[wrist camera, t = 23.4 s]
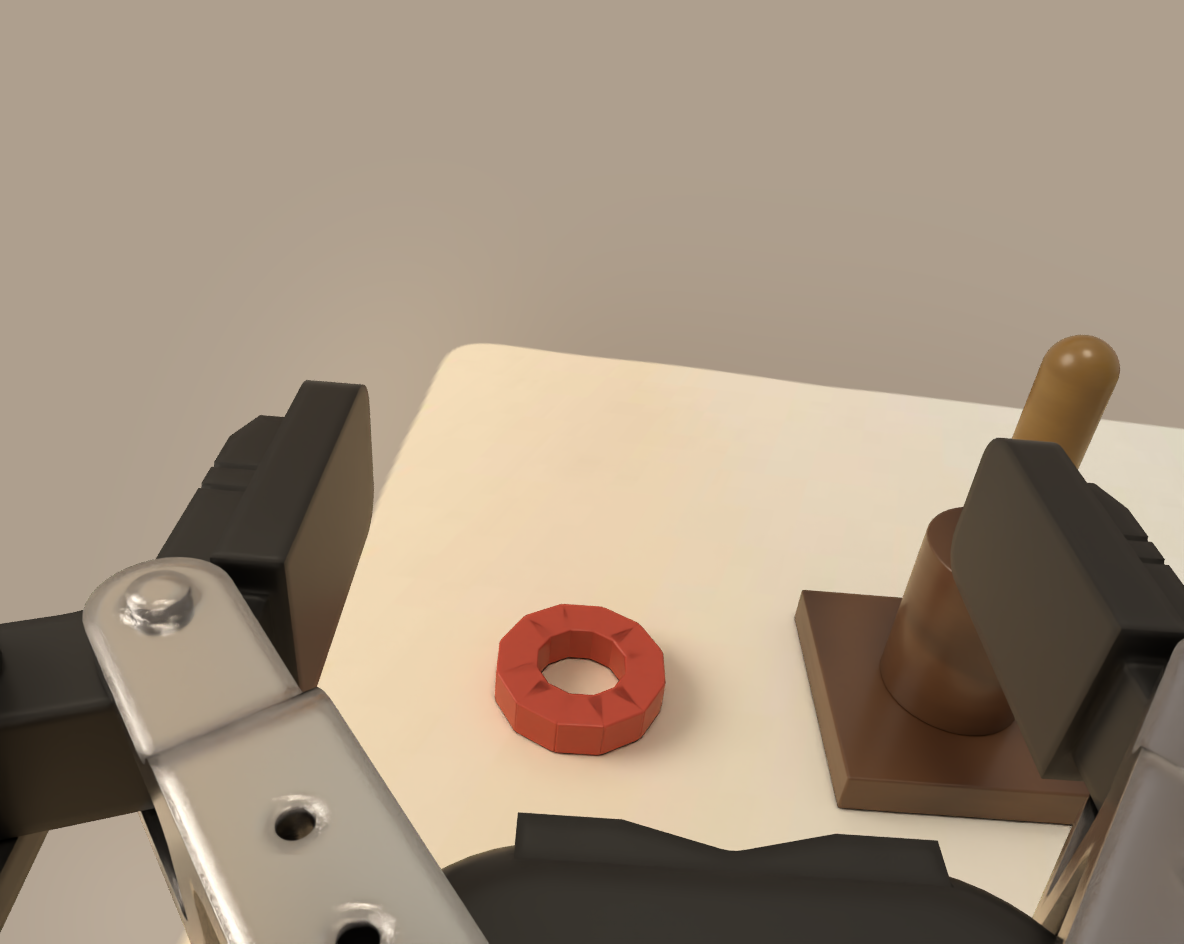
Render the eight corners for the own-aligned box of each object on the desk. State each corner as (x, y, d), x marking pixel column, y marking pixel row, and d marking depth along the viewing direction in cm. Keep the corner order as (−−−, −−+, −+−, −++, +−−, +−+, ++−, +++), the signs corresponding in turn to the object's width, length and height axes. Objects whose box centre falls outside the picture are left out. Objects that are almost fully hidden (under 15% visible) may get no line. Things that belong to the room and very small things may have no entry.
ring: (655, 637, 37) (660, 609, 36) (664, 759, 32) (670, 731, 32) (502, 626, 37) (504, 599, 36) (489, 749, 32) (490, 720, 31)
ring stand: (1015, 634, 39) (1173, 287, 31) (1110, 828, 32) (1353, 439, 23) (793, 617, 39) (892, 261, 30) (837, 808, 31) (984, 407, 23)
